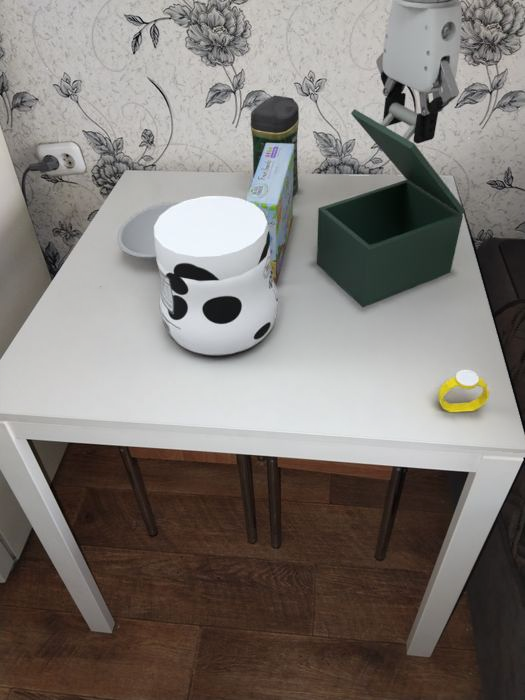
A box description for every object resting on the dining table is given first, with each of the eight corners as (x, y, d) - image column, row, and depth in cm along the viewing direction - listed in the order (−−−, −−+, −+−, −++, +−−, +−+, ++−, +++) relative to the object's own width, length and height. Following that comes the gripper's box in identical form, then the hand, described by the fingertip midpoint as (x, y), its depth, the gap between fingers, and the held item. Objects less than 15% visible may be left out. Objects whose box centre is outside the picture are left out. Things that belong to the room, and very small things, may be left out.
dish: (177, 288, 97) (173, 264, 94) (104, 270, 102) (98, 246, 98) (223, 233, 109) (221, 209, 105) (156, 219, 113) (152, 196, 110)
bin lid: (410, 148, 77) (437, 116, 76) (350, 113, 85) (373, 84, 84) (462, 215, 90) (485, 188, 89) (405, 178, 99) (426, 154, 98)
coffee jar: (285, 211, 114) (284, 115, 101) (248, 203, 116) (242, 109, 103) (303, 187, 120) (305, 94, 107) (268, 181, 123) (265, 89, 110)
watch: (479, 400, 78) (490, 368, 74) (485, 416, 76) (496, 384, 72) (433, 401, 78) (441, 369, 74) (438, 417, 76) (446, 385, 72)
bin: (362, 307, 92) (368, 249, 85) (316, 263, 101) (318, 207, 93) (450, 272, 98) (463, 215, 90) (399, 234, 107) (407, 179, 99)
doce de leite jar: (296, 307, 93) (297, 205, 80) (245, 381, 82) (237, 276, 69) (201, 281, 99) (188, 182, 86) (142, 346, 88) (117, 243, 75)
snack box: (280, 286, 97) (278, 204, 86) (246, 283, 98) (241, 202, 87) (295, 217, 112) (295, 141, 101) (265, 216, 113) (263, 140, 102)
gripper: (503, -4, 67) (470, 148, 79) (406, -31, 78) (390, 106, 91) (452, 7, 65) (427, 162, 77) (359, -22, 76) (350, 117, 88)
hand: (407, 130), depth 84 cm, fingers closed on bin lid, 6 cm apart
